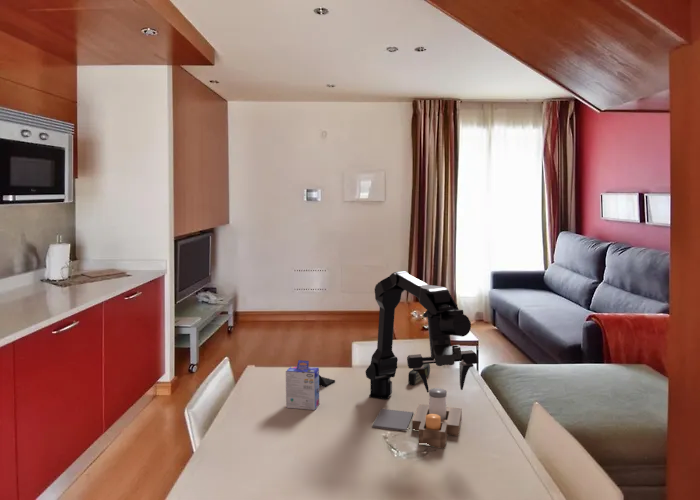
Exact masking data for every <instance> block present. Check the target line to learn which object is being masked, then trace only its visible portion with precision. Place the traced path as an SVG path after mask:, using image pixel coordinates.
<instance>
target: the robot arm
mask: <svg viewBox="0 0 700 500" xmlns="http://www.w3.org/2000/svg"><path fill="white" fill-rule="evenodd" d="M405 291H406V292H407V293H409V294H410V295H412V296H414V297H416V298H417V299H418V303H419V304H420V305H421V306H422V307H423V308H424V309H425V310H426V311H425V312H424V313H423V315H422V317H423V318H427V325H428V327H427V329H428V338H429V339H428V340H429V348H430V349H429V350H430V356H422V354H421V353H420V354H409V355H407V356H406V362H407V367H408V369H412V370H414V371H418V373H419V374H420V376H421V378H422V380H421V381H422V382H423V385H424V387H425V391H426V392H427V393H428V394H429V390H430V389H429V384H428V380H427V378H426V374H425V369H424V367H423V364H435V365H436V366H437V367H443V366H448V365H449V366H454V365H455V363H456V362H458V363H459V386H460V387H459V388H460V390H461V391H463V389H464V385H465V381H466V378H467V373H468V371H469V370H470V368H473V367H474V364H479V358H478V357H479V356H478V354H477V353H476V352H475V351H473V350H472V349H471V350H469V349H468V350H462V348H461V346H460V344H456V345H455V344H452V341H451V339H452V338H451V336H455V337H465V336H467V335H468V334H469V333H470V331H471V328H472V323H471V320H470V319H469V316H467V315H466V314H464V310H463V309H459V307H458V304H457V303H456V302H455V300H454V298H453V296H452V294H451V293H450V291H449V289H448V288H447V287H445V286H440V285H431V284H428V283H426V282H425V281H423V280H420V279H419V278H416V277H415V276H413V275H411V274H409V272H408V271H395V272H393V273H391V274H390V275H389V276H387V277H385V278H384V279H382V280H380V281H379V282H377V284H375V287H374V295H375V296H374V298H375V302H376V303H377V304H378V306H379V309H378V311H379V313H378V327H377V328H378V329H377V344H376V346H377V347H376V349H375V351H374V352H373V354H372V356H371V359H370V364H369V365H368V367H367V368H366V369H365V377H366V378H367V379H368V380H370V389H369V390H370V394H369V395H368V397H369V398H373V399H380V400H381V399H385V400H388V399H389V398H390V397H391V396H392V393H393V381H391V378H395V376H396V374H397V373H396V372H397V369H398V360H399V359H398V357H397V356H396V355H395V353H394V352H393V343H394V341H393V340H394V329H395V327H394V326H395V314H396V313H395V312H396V308H397V307H398V305H399V303H401V299H402V295H403V292H405Z"/></svg>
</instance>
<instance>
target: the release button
mask: <svg viewBox="0 0 700 500" xmlns="http://www.w3.org/2000/svg"><path fill="white" fill-rule="evenodd" d="M426 429H432V430H441V417H440V416H439V415H437V414H428V415H426Z"/></svg>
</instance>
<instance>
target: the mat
mask: <svg viewBox="0 0 700 500" xmlns="http://www.w3.org/2000/svg"><path fill="white" fill-rule="evenodd" d="M413 417H414V412H413V411H405V410H397V409H390V408H389V409H387V408H380V410H379V412H378V414H377V416H376V417H375V419H374V422H373V424H372V425H371V427H372V428H375V429H376V428H377V429H384V430H390V431H398V430H407V431H408V429H407V428H409V426H410V423H411V421H412V419H413Z"/></svg>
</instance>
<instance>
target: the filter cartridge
mask: <svg viewBox="0 0 700 500" xmlns="http://www.w3.org/2000/svg"><path fill="white" fill-rule="evenodd" d="M447 395H448V394H447V390H446V389H444V388H441V387H440V388H439V387H434V388H430V389H429V392H428V405H429V414H437V415H439V416H440V417H441V419H443V420H446V407H447Z"/></svg>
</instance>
